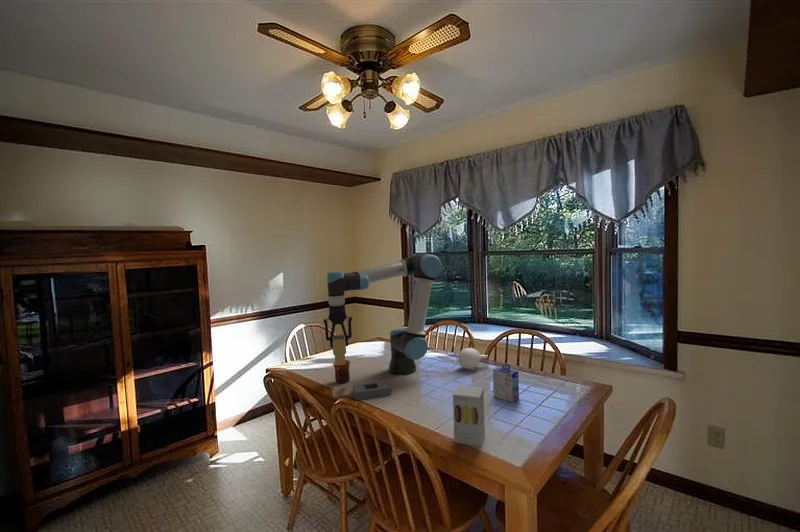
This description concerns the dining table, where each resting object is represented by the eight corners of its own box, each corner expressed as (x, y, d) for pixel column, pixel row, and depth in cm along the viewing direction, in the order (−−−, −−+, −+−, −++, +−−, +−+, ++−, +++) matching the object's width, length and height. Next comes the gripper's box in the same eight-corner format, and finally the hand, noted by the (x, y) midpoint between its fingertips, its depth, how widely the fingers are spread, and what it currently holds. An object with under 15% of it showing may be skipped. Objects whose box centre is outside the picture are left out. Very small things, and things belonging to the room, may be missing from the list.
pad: (350, 388, 177) (350, 387, 176) (352, 395, 168) (352, 394, 168) (331, 391, 174) (331, 389, 174) (333, 398, 166) (333, 396, 166)
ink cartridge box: (520, 399, 155) (518, 365, 154) (513, 403, 151) (512, 369, 151) (500, 393, 162) (498, 361, 162) (492, 396, 159) (491, 364, 158)
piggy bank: (467, 376, 189) (484, 370, 199) (473, 356, 187) (490, 351, 197) (450, 364, 198) (467, 360, 208) (455, 345, 196) (472, 341, 206)
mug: (337, 378, 191) (336, 359, 190) (353, 379, 189) (352, 360, 188) (329, 387, 179) (327, 367, 178) (345, 388, 177) (344, 367, 177)
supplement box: (453, 442, 123) (451, 394, 122) (459, 429, 131) (457, 384, 131) (482, 447, 119) (480, 397, 119) (485, 433, 128) (484, 386, 127)
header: (386, 388, 174) (385, 380, 174) (390, 396, 165) (390, 387, 164) (353, 393, 170) (352, 384, 170) (355, 401, 161) (355, 392, 160)
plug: (344, 361, 173) (343, 334, 172) (345, 364, 169) (344, 336, 168) (335, 362, 172) (333, 335, 171) (335, 365, 168) (334, 337, 167)
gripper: (354, 302, 175) (357, 349, 176) (317, 305, 171) (320, 353, 172) (356, 304, 168) (359, 353, 169) (317, 307, 163) (320, 358, 164)
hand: (339, 353), depth 170 cm, fingers closed on plug, 4 cm apart
